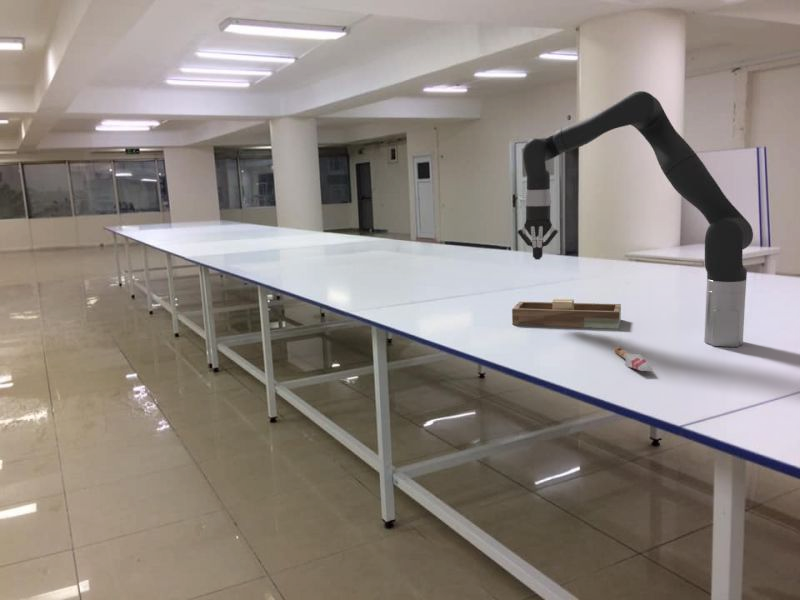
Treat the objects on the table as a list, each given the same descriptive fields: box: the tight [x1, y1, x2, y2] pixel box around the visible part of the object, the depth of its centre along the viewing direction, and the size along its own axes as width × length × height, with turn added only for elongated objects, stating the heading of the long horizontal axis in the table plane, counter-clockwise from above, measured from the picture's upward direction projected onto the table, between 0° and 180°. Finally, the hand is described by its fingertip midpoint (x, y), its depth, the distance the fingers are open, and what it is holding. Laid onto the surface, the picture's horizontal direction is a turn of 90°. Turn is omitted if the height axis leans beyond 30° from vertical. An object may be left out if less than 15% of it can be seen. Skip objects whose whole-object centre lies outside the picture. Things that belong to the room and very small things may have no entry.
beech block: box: [551, 298, 575, 310], centre depth 200 cm, size 5×6×4 cm
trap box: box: [511, 301, 622, 330], centre depth 200 cm, size 12×32×5 cm, turn 69°
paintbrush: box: [614, 346, 654, 372], centre depth 155 cm, size 4×3×20 cm
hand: (537, 259), depth 201 cm, fingers closed
